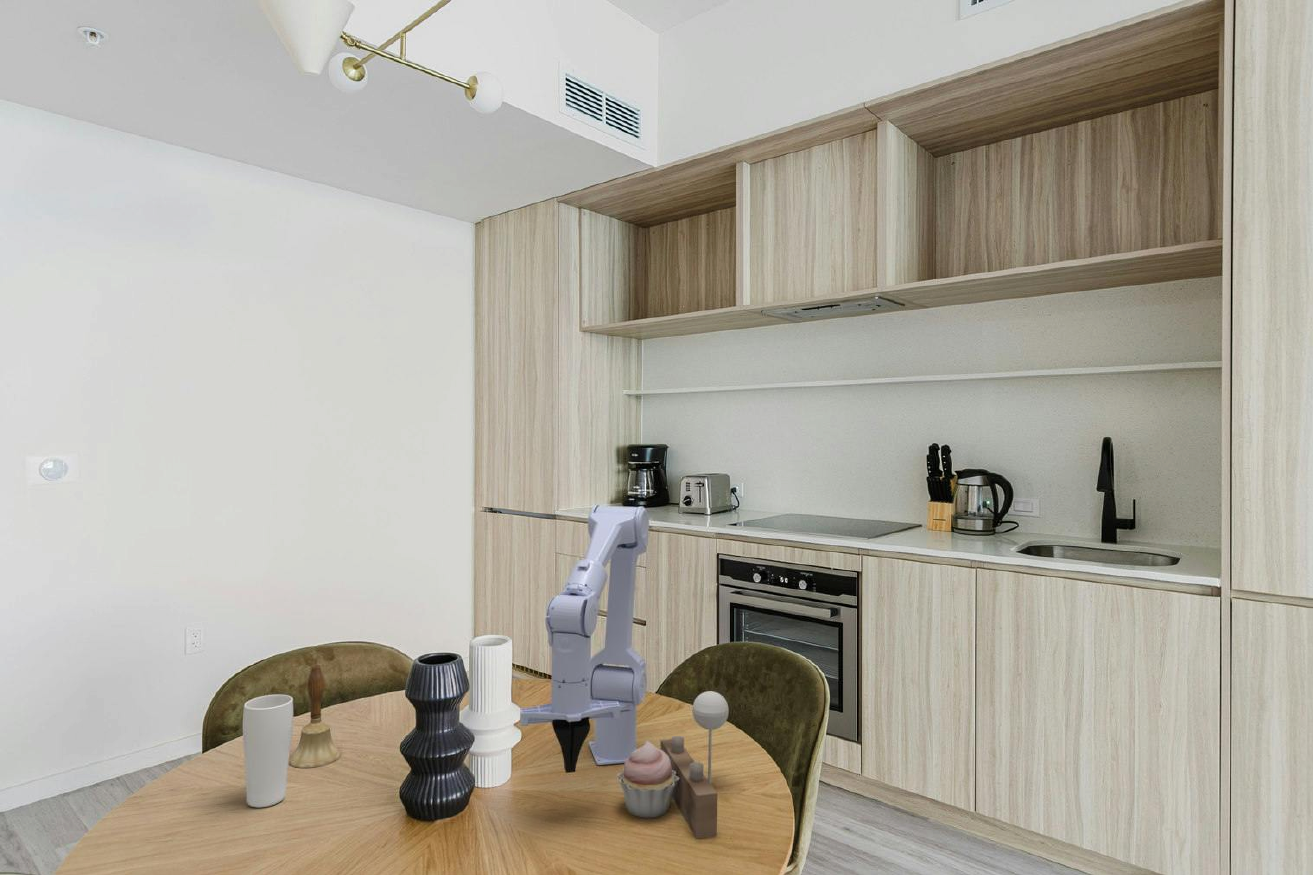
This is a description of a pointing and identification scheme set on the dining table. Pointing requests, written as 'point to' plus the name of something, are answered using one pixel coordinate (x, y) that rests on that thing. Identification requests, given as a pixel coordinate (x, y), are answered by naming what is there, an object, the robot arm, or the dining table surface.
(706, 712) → the lollipop
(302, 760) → the hand bell
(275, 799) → the drinking glass
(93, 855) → the dining table surface
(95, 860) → the dining table surface
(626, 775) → the cupcake
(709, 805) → the bar
